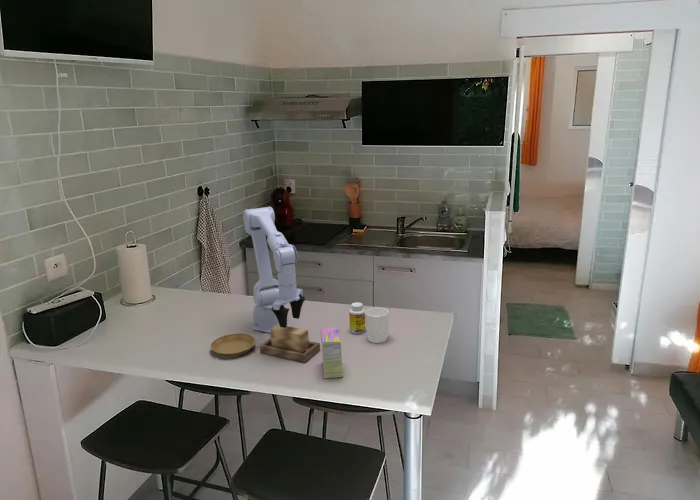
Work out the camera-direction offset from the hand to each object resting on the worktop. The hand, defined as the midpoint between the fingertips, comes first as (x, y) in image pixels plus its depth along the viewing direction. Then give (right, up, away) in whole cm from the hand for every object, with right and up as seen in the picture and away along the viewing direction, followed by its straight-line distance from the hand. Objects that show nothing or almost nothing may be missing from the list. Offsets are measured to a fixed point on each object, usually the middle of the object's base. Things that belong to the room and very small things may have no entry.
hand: (289, 322), depth 176 cm
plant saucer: (-19, -10, +5) cm, 22 cm away
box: (+14, -13, -11) cm, 22 cm away
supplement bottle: (+22, -5, +15) cm, 28 cm away
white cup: (+29, -7, +9) cm, 31 cm away
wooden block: (0, -8, +1) cm, 8 cm away
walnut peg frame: (0, -10, +1) cm, 10 cm away
